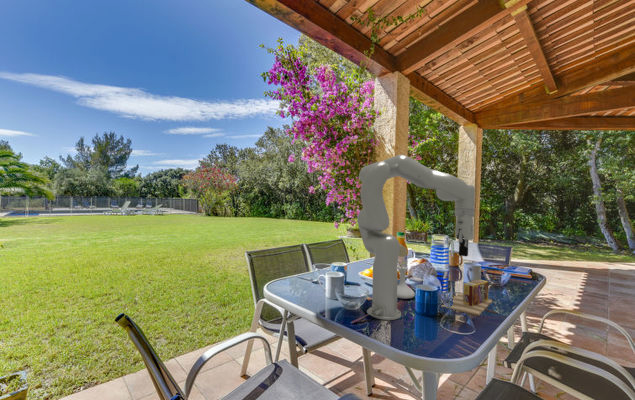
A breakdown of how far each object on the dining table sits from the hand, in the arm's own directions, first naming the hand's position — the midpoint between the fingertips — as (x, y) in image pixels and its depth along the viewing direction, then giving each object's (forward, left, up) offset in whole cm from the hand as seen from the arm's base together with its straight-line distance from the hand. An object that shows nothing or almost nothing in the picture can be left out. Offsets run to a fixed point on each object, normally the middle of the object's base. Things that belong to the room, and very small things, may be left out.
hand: (463, 255), depth 119 cm
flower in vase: (-6, +26, -22) cm, 34 cm away
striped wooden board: (+6, 0, -22) cm, 23 cm away
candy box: (+2, -1, -17) cm, 17 cm away
